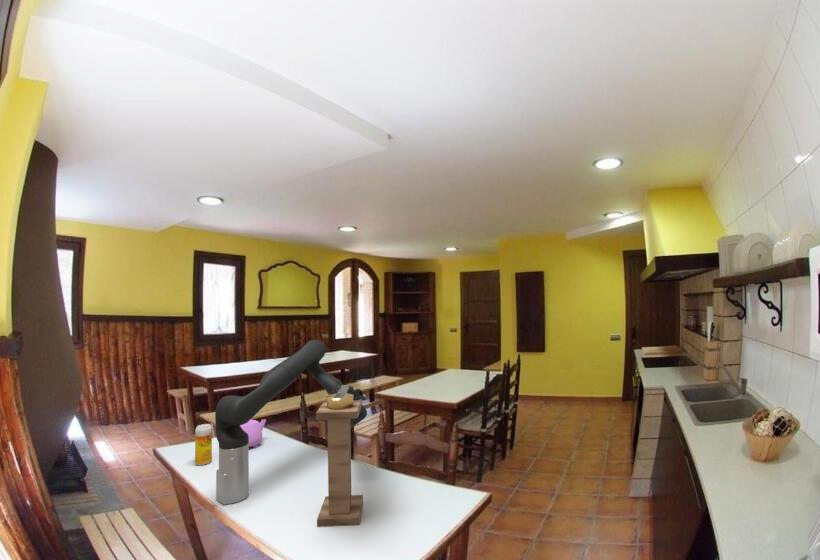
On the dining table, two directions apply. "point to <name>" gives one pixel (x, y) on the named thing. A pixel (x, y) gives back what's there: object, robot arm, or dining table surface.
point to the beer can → (203, 444)
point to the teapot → (254, 431)
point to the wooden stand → (339, 469)
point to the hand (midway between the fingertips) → (344, 388)
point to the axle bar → (340, 399)
